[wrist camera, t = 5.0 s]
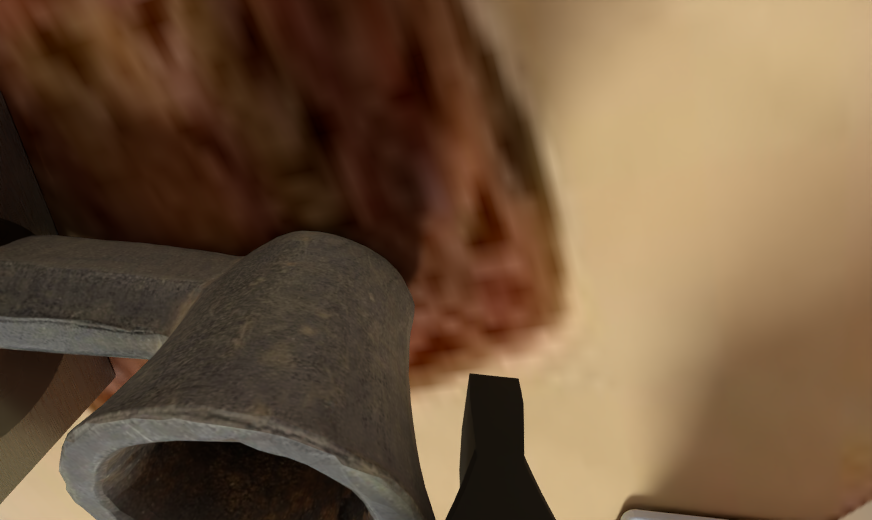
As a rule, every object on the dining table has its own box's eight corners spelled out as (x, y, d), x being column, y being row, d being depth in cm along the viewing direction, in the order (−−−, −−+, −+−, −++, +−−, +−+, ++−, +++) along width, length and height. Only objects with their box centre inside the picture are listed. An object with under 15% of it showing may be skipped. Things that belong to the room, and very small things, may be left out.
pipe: (47, 166, 14) (-349, 343, 7) (468, 219, 14) (456, 451, 7) (102, 323, 17) (-141, 548, 11) (445, 369, 17) (422, 627, 10)
